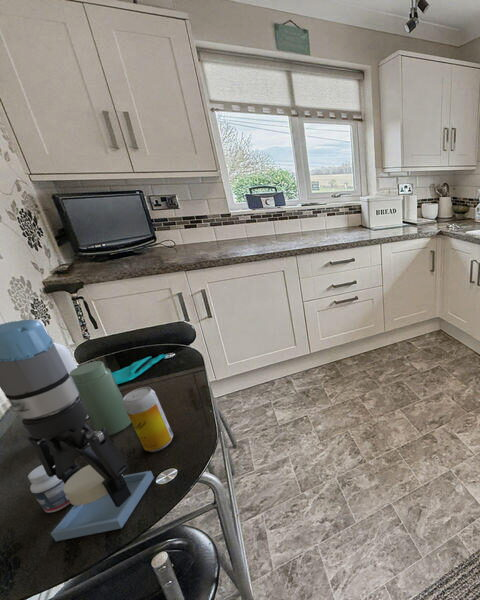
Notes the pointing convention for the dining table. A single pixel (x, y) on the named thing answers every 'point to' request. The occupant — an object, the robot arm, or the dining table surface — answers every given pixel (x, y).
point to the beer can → (148, 418)
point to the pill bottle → (48, 490)
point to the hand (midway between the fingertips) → (104, 499)
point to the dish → (103, 511)
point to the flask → (101, 397)
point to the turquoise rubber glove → (135, 369)
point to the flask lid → (85, 486)
